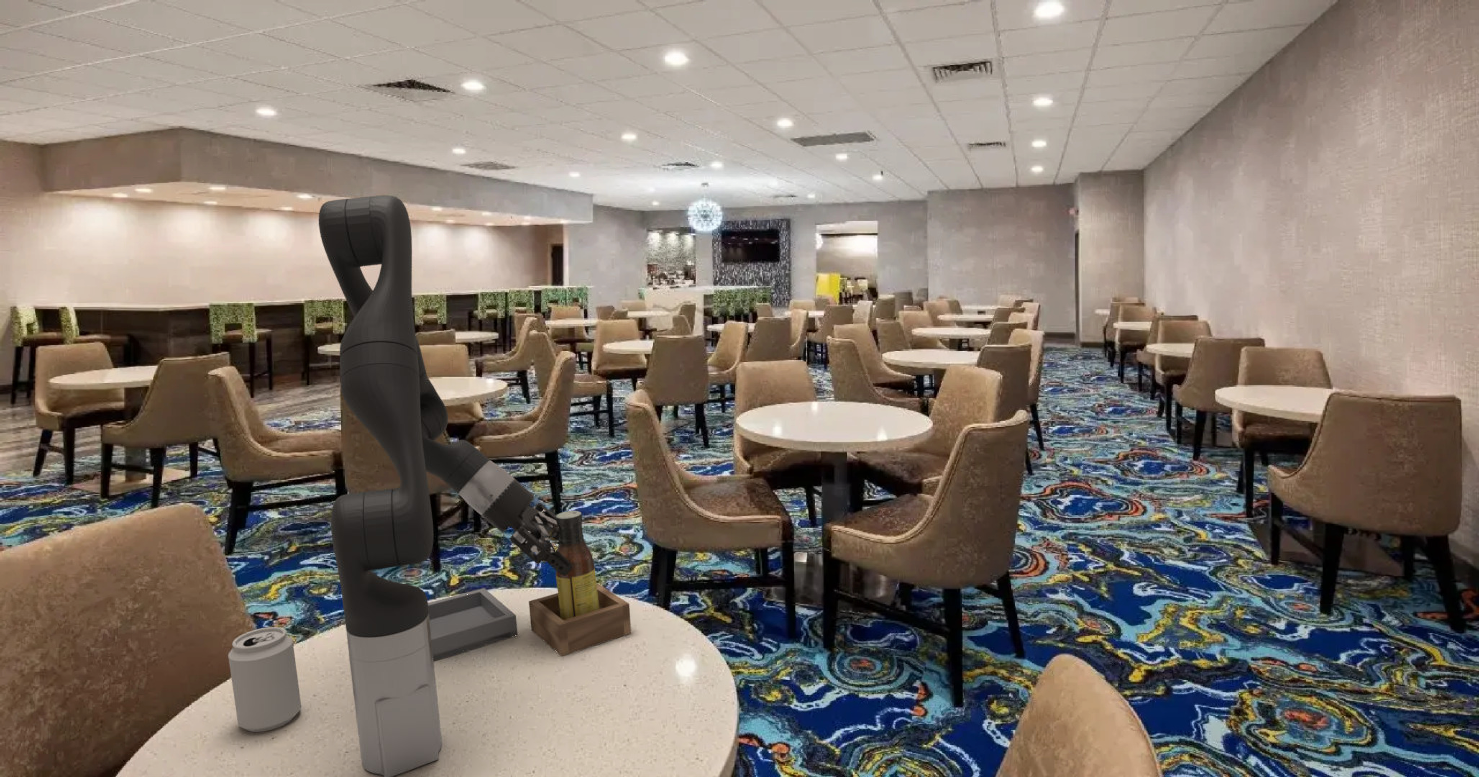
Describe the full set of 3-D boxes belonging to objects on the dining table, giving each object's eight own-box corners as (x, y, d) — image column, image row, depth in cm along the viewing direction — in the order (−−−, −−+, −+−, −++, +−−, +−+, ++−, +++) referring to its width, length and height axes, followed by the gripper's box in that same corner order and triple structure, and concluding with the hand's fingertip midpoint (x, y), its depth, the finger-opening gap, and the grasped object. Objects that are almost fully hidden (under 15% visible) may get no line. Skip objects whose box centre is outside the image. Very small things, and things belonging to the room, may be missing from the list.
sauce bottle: (605, 623, 137) (597, 507, 134) (595, 640, 130) (586, 519, 127) (566, 623, 137) (558, 508, 134) (555, 640, 131) (545, 520, 128)
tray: (517, 635, 133) (515, 615, 133) (422, 664, 125) (420, 643, 124) (485, 607, 145) (484, 588, 145) (396, 631, 137) (394, 611, 136)
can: (241, 714, 113) (230, 631, 111) (303, 700, 116) (293, 619, 114) (234, 741, 106) (222, 653, 104) (300, 725, 109) (289, 640, 107)
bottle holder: (631, 633, 132) (629, 603, 132) (561, 656, 126) (559, 625, 125) (597, 610, 142) (595, 582, 141) (531, 630, 135) (528, 601, 134)
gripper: (500, 491, 123) (582, 560, 125) (522, 467, 137) (596, 530, 139) (467, 526, 124) (550, 595, 125) (493, 499, 138) (567, 562, 140)
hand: (574, 561), depth 132 cm, fingers open, 8 cm apart
